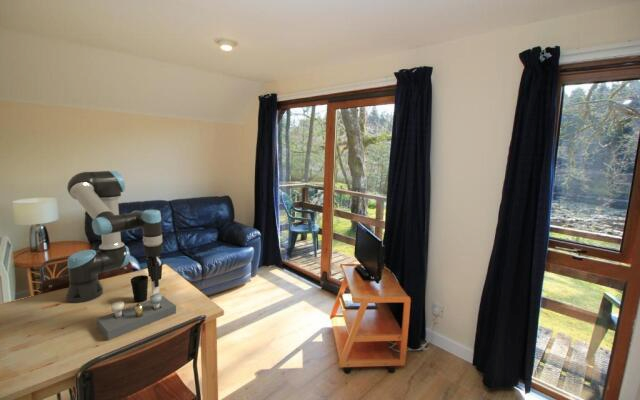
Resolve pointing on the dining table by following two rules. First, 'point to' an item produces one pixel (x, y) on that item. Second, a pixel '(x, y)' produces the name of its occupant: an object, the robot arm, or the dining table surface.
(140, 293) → the cup
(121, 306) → the knob
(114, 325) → the panel
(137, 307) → the trim post
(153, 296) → the knob
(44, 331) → the dining table surface
